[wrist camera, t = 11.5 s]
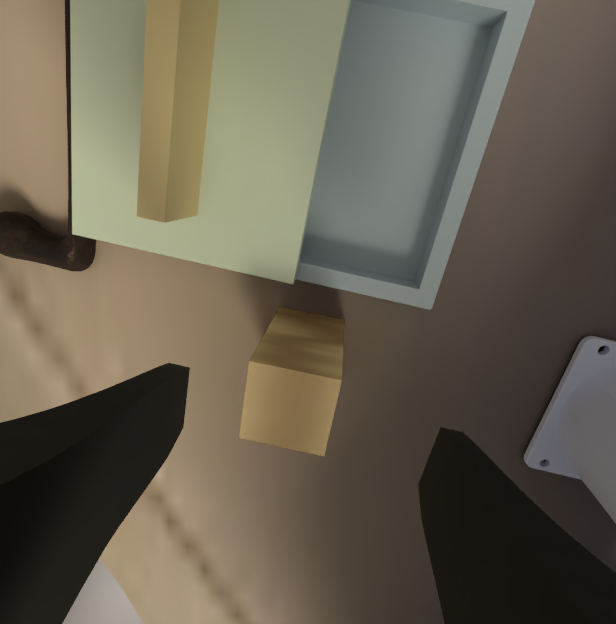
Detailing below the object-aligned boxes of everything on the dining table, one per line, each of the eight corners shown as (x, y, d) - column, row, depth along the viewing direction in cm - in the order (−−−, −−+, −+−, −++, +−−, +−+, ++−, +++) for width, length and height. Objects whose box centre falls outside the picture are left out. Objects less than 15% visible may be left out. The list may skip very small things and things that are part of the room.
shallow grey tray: (513, 14, 15) (539, -13, 13) (422, 296, 19) (431, 310, 17) (269, -35, 15) (257, -69, 13) (230, 252, 20) (216, 261, 17)
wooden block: (344, 319, 20) (342, 380, 14) (331, 377, 21) (324, 456, 15) (279, 306, 20) (249, 360, 14) (270, 364, 21) (238, 437, 15)
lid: (360, -49, 13) (364, -135, 10) (295, 279, 17) (281, 305, 14) (84, -104, 14) (-11, -207, 10) (84, 231, 18) (16, 244, 14)
